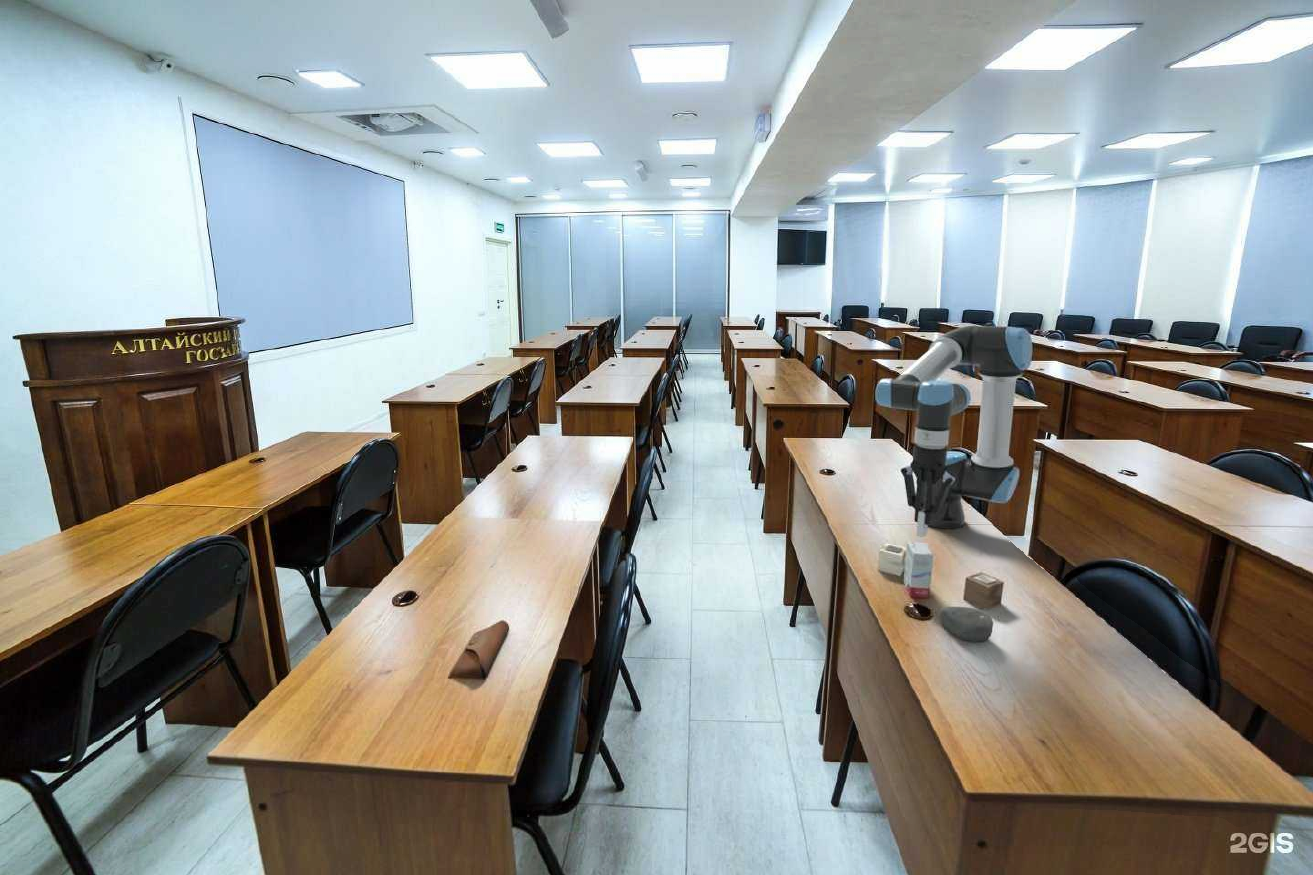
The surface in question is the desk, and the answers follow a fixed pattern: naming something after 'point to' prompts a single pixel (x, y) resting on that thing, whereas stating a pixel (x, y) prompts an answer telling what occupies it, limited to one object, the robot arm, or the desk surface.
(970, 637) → the stone
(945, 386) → the robot arm
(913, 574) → the ink box
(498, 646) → the sunglasses case
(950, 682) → the desk surface
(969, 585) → the walnut block marked
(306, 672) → the desk surface
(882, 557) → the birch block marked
